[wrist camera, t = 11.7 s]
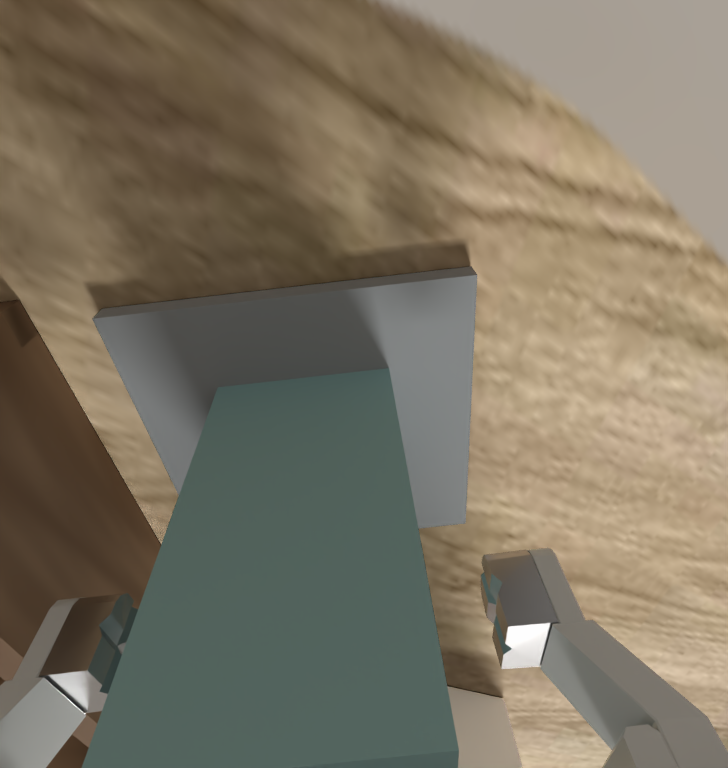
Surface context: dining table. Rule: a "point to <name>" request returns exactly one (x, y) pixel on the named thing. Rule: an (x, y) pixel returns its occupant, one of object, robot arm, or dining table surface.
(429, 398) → the mat
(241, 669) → the block
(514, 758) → the milk
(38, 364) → the crate
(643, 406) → the dining table surface
